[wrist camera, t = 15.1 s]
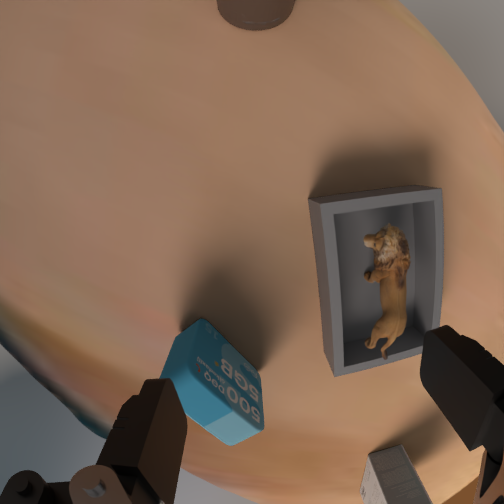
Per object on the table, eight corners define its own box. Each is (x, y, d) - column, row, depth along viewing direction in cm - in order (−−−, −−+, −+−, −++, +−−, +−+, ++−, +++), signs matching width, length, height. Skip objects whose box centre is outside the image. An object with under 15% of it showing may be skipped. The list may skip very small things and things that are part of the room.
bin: (307, 198, 35) (319, 204, 29) (415, 184, 35) (441, 188, 29) (323, 351, 40) (334, 376, 35) (416, 328, 40) (436, 348, 34)
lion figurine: (348, 245, 38) (366, 221, 29) (386, 240, 38) (413, 215, 29) (365, 363, 34) (390, 372, 25) (404, 354, 34) (438, 359, 25)
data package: (261, 373, 41) (266, 435, 29) (236, 388, 42) (234, 451, 30) (201, 313, 39) (185, 368, 27) (176, 332, 39) (154, 389, 28)
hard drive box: (390, 481, 51) (416, 546, 31) (358, 490, 51) (380, 558, 31) (403, 442, 47) (440, 517, 28) (367, 453, 47) (397, 534, 28)
